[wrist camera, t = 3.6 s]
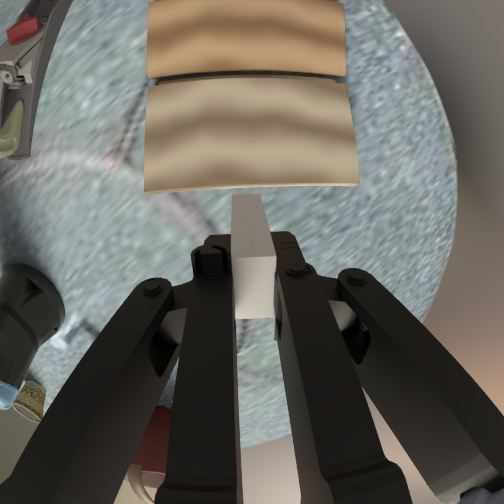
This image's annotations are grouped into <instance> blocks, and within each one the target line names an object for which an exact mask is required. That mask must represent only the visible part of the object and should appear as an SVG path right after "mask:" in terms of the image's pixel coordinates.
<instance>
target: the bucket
mask: <svg viewBox="0 0 504 504" xmlns="http://www.w3.org/2000/svg"><path fill="white" fill-rule="evenodd" d="M171 414H172V410H170V409H168V408H166V407H164V406H156V408H155V410H154V412H153V414H152V416H151V419H150V421H149V423H148V425H147V427H146V430H145V432H144V434H143V436H142V439H141V441H140V443H139V445H138V448H137V450H136V452H135V454H134V457H133V459H132V461H131V464H130V466H129V468H128V471H127V473H126V475H125V477H124V480H126V481H128V482H130V485H131V487H132V489H133V491H134V492H135V493H136V495H137V496H138V497H139V498H140V500H142V501H144V502H145V503H147V504H154V501H153V500H152V499H151V498H150V497H149V495H148V494H147V492H146V491H145V489H144V486H146V487H151V488H157V489H158V487H159V486H160V485H161V484H162V483H163V482H164V479H165V474H166V463H167V452H168V441H169V432H170V423H171Z"/></svg>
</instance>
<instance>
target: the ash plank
mask: <svg viewBox="0 0 504 504" xmlns="http://www.w3.org/2000/svg"><path fill="white" fill-rule="evenodd" d="M357 184H360V178H359V168H358V159H357V150H356V142H355V135H354V128H353V121H352V115H351V109H350V103H349V98H348V92H347V87H346V84H341V83H336V81H335V80H333V79H324V78H314V77H302V76H286V75H224V76H208V77H196V78H186V79H177V80H169V81H162V82H159V83H158V85H156V86H150V87H148V95H147V107H146V124H145V148H144V192H146V193H148V194H158V193H168V192H180V191H192V190H206V189H222V188H242V187H268V186H354V185H357Z"/></svg>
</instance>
